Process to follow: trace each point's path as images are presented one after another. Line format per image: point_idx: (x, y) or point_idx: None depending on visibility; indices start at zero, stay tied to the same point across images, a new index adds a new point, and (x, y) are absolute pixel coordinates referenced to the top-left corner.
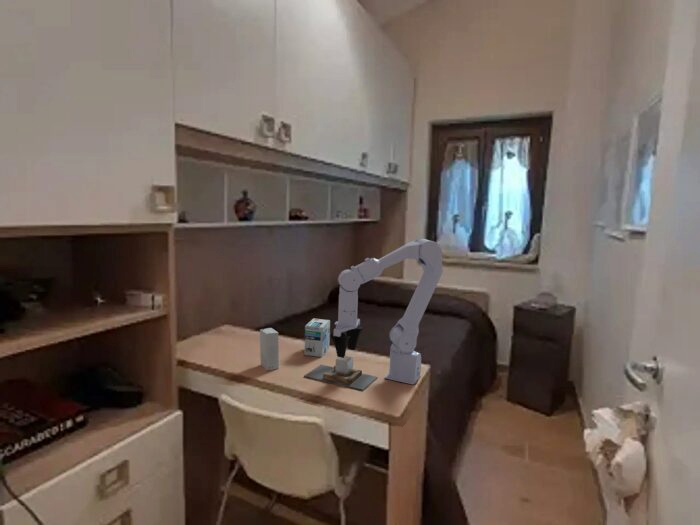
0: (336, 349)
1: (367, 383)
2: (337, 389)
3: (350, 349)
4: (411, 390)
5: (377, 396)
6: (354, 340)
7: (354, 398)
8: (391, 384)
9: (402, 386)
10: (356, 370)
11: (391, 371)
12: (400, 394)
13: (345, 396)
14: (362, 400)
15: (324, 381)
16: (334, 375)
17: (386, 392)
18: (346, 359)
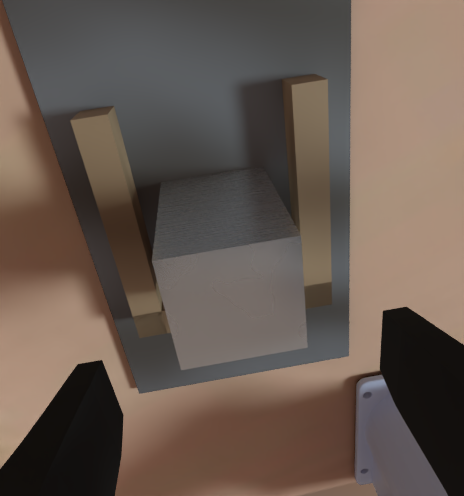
0: (28, 445)
1: (228, 367)
2: (39, 287)
3: (382, 334)
4: (296, 492)
5: (139, 449)
6: (450, 476)
7: (30, 403)
8: (308, 425)
9: (315, 459)
10: (311, 279)
11: (390, 432)
12: (230, 487)
13: (7, 366)
14: None
15: (56, 150)
16: (116, 219)
17: (208, 451)
18: (221, 334)
